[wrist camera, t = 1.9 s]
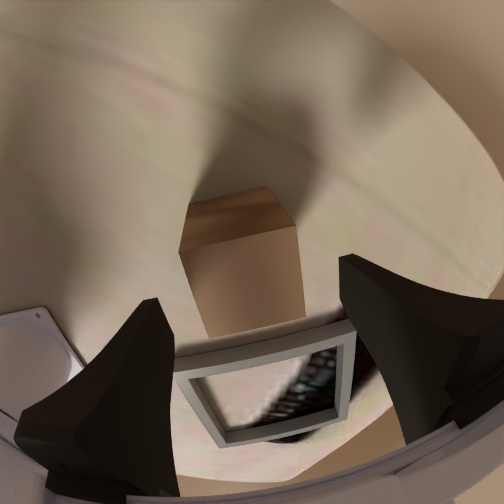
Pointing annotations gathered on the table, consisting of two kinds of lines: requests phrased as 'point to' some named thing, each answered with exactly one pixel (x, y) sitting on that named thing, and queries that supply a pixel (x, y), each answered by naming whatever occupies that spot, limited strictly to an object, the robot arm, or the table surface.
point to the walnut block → (242, 262)
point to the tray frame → (264, 354)
